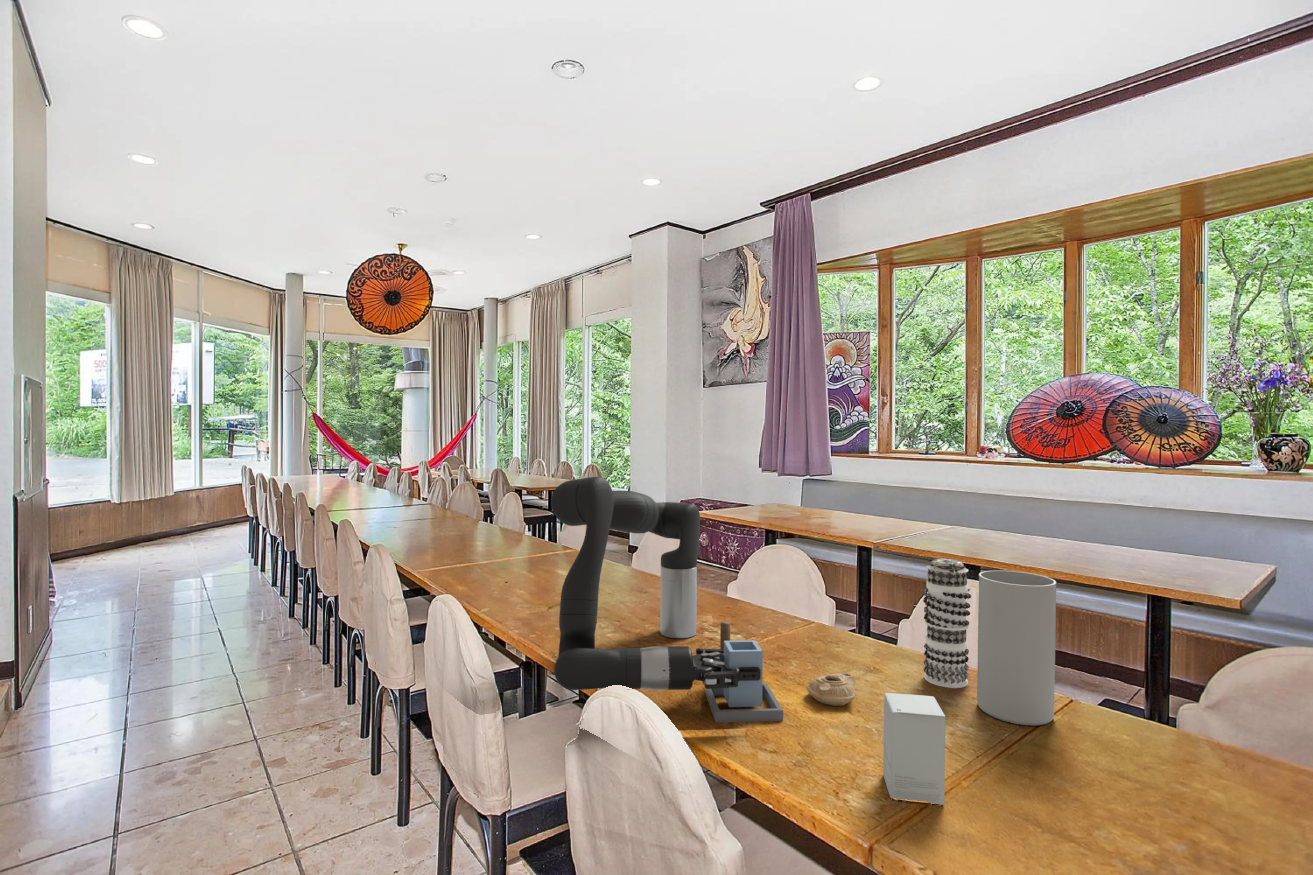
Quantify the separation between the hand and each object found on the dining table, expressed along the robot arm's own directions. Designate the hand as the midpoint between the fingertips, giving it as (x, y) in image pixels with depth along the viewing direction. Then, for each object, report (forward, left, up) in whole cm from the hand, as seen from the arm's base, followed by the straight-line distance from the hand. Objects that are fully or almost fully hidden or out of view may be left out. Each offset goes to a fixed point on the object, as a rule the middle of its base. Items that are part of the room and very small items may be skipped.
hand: (755, 666), depth 119 cm
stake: (-9, -8, -8) cm, 15 cm away
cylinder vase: (-18, +45, -9) cm, 49 cm away
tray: (+1, -2, -8) cm, 9 cm away
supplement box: (+17, +27, -9) cm, 33 cm away
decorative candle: (-30, +34, -9) cm, 46 cm away
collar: (+1, -2, -6) cm, 7 cm away
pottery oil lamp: (-10, +14, -9) cm, 19 cm away
